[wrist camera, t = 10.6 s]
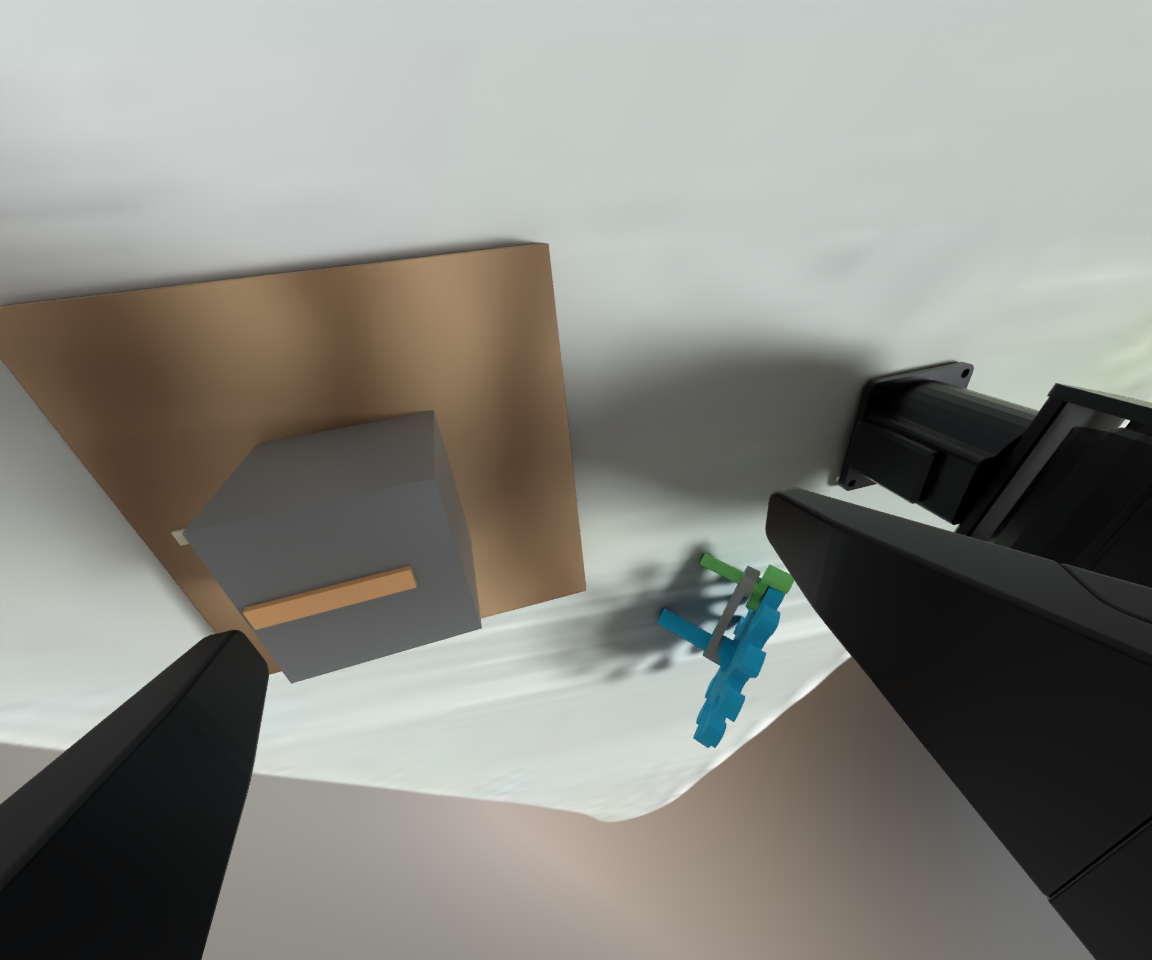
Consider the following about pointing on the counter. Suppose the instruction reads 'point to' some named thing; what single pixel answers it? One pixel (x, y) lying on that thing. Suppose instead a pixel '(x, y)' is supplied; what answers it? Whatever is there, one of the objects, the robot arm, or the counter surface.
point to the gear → (733, 642)
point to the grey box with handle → (343, 545)
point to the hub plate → (320, 398)
